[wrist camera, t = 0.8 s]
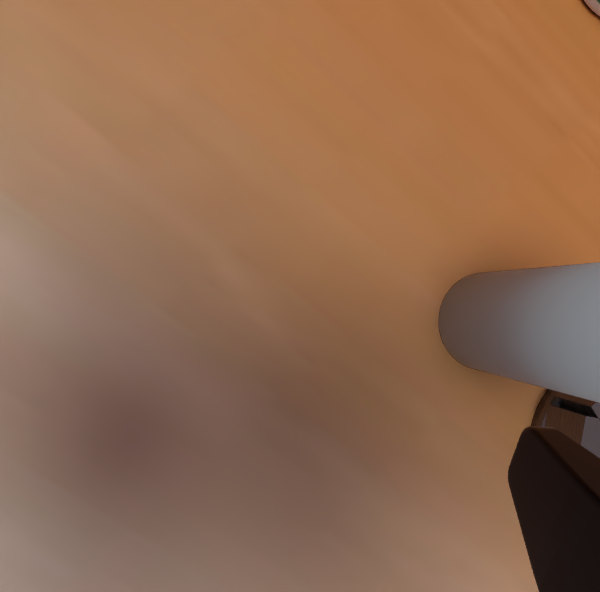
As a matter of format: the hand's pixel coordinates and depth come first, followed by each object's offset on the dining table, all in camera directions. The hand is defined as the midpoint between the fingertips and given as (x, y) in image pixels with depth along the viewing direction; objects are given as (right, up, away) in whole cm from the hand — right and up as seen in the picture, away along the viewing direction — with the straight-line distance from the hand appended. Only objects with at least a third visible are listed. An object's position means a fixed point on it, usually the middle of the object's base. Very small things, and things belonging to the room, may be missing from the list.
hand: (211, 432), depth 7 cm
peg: (+10, +1, +18) cm, 21 cm away
